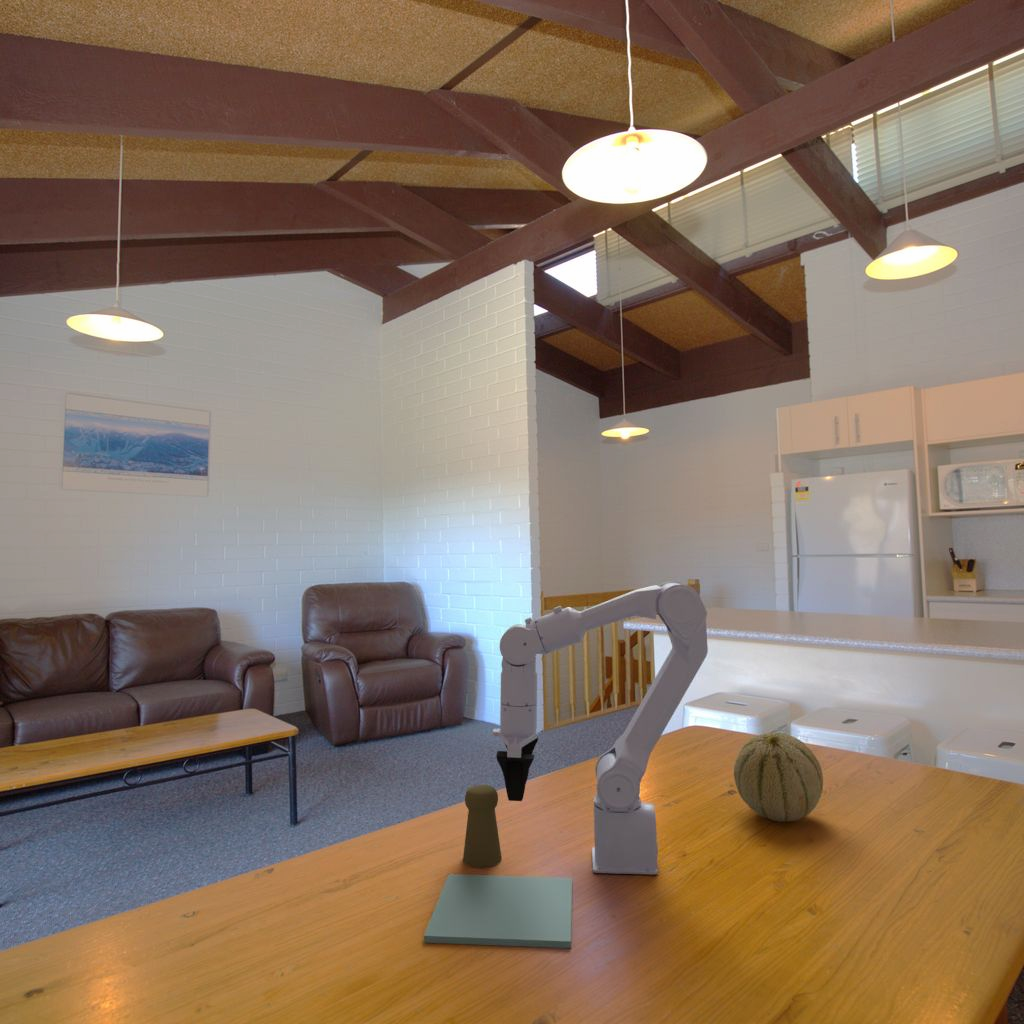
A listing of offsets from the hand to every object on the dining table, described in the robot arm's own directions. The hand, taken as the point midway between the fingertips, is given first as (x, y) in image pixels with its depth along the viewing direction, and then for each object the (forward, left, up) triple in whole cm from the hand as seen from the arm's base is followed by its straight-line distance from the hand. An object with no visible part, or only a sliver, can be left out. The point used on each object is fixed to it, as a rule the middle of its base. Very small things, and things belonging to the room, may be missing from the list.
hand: (517, 791), depth 107 cm
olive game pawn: (+6, 0, -11) cm, 12 cm away
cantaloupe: (-44, -19, -11) cm, 49 cm away
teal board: (+1, +15, -10) cm, 18 cm away
